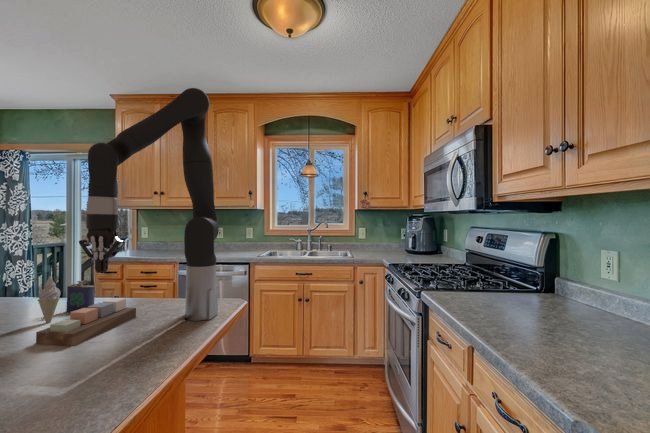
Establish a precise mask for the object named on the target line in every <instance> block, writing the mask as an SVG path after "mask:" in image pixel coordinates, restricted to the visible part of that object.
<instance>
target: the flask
mask: <svg viewBox="0 0 650 433" xmlns="http://www.w3.org/2000/svg"><path fill="white" fill-rule="evenodd" d="M76 282H77V283H73V284H69V285H67V289H66V290H67V291H66V292H67V293H66V310H65V313H68V312H69V313H70V312H73V311H76V310H79V309H82V308H88V306H91V305H94V304H95V290H96V287H95V285H84V283H85V280H77V281H76Z"/></svg>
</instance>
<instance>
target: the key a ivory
mask: <svg viewBox="0 0 650 433" xmlns="http://www.w3.org/2000/svg"><path fill="white" fill-rule="evenodd" d="M102 303H113V312H117V311H120V310H122V309H125V308H126V307H127V298H125V297H124V298H123V297H121V298H120V297H112V298H110V299H107V300H103V301H102Z"/></svg>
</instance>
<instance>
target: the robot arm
mask: <svg viewBox="0 0 650 433" xmlns="http://www.w3.org/2000/svg"><path fill="white" fill-rule="evenodd" d="M209 108H210V99H209V97H208V95H207V93H205V92H204V90H202V89H200V88H197V87H189V88H187V89H185V90H184V91H182V92H181V93H180V94H178V95H177V96H176V97H175V98H174V99H173V100H171V101H170V102H169V103H167V104H166V105H165V106H163V107H162V108H161V109H159V110H157V111H156V112H154V113H151V115H148V116H147V117H146V118H143V119H142V120H140V121H139V122H137V123H134V124H133V125H131V126H129V127H127V128H125V129H124V130H122V131H121V132H119V133H118V134H117V135H116V137H114V138H113V139H112V140H110V141H109V142H97V143H94V144H92V146H91V147H90V148H89V149H88V153H87V168H88V177H89V178H88V186H87V188H88V190H87V191H88V193H87V195H88V196H87V202H86V217H85V218H86V219H85V220H86V222H85V227H86V229H87V230H88V231H87V233H86V237H85V238H84V239H80V240H78V243H79V245H80V247H81V248H82V249H83V251H84V252H85V254H86V256H88V258H92V259H93V260H94V263H95V264H94V270H95V272H96V273H97V274H99V273H100V274H103V273H106V272H107V271H108V270H109V259H111V258H115V257H116V255H117V254H118V253H119V251H120V250H121V249H122V248H123V246H124V245H125V244H126V241H125V240H122V239H120V238H119V237H118V236H119V234H118V232H117V230H118V228H119V202H118V201H119V200H118V194H119V191H118V190H119V188H118V187H119V185H118V178H117V177H118V176H117V174H118V166H120V165H121V164H123V163H124V162H126V161H127V160H129V159H130V157H132V156H133V155H134V154H135V155H136V153H139V152H140V151H142V150H144V149H146V148H148V147H149V146H151V145H152V144H154V143H155V142H158V140H159V139H161V138H163V136H164V135H166V134H167V133H168V132H170V131H171V130H172V129H173V128H174V127H176V126H178V125H179V124H180V125H181V129H182V166H183V167H182V169H183V171H182V172H183V176H184V183H185V186H186V189H187V191H188V195H189V197H190V200H191V204H192V218H191V219H190V220H189V221H188V222H187V223H186V225H185V228H184V233H183V234H184V235H183V240H184V241H183V243H184V245H183V246H184V256H185V260H186V266H185V268H186V270H185V272H186V273H185V311H184V312H185V319H186V320H188V321H191V322H193V321H194V322H195V321H196V322H197V321H205V320H211V319H213V318H214V317H216V316H217V315H218V309H219V308H218V304H219V286H218V285H217V283H216V282H217V256H216V254H215V240H216V239H217V237H218V235H219V232H220V229H219V228H220V227H219V222H218V217H217V212H216V207H215V189H214V186H215V185H214V183H215V182H214V171H213V170H214V169H213V159H212V155H211V151H210V150H211V149H210V148H209V144H208V142H207V137H206V117H207V114H208V111H209Z"/></svg>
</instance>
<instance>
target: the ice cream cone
mask: <svg viewBox="0 0 650 433" xmlns="http://www.w3.org/2000/svg"><path fill="white" fill-rule="evenodd" d="M56 285H57V284H56V283H55V282H54V279H53V278H52V276H51V275H49V277H48V279H47V280H46V283H45V284H44V285H43V289H41V290H40V292H39V293H38V299H37V301H38V304H39V307H40V310H41V313H42V316H43V318H44V321H45V324H52V323H51V322H52V319H53V318H54V314H55V312H56V308H57V306H58V303H59V301H60V299H61V297H60V296H61V290H60V289H59V288H58V287H56Z"/></svg>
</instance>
